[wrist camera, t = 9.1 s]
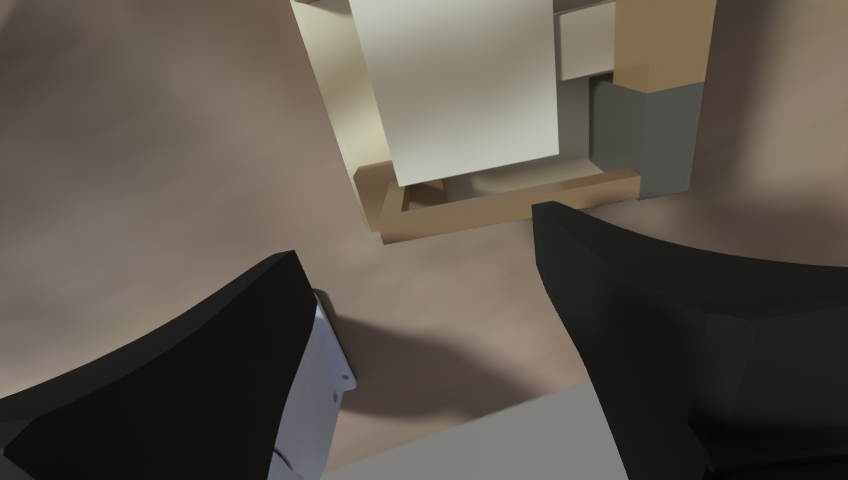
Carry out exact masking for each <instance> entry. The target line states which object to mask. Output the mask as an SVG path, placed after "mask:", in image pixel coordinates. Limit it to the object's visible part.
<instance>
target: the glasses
mask: <svg viewBox="0 0 848 480" xmlns="http://www.w3.org/2000/svg"><path fill="white" fill-rule="evenodd" d="M716 1H717V0H616V10H615V40H614V71H613V72H610V73H606V74H601V75H597V76H592V77H589V161H590V162H592V163H593V164H594V165H595V166H597V167H598V168H599V169H600V170H602V171H603V172H604V173H601V174H595V175H590V176H585V177H580V178H575V179H570V180H564V181H559V182H554V183H549V184H544V185H539V186H533V187H528V188H523V189H518V190H513V191H508V192H502V193H497V194H492V195H487V196H482V197H477V198H472V199H466V200H461V201H456V202H451V203H446V204H441V205H435V206H430V207H425V208H420V209H415V210H410V211H408V210H409V202H410V190H409V186H408V185H406V186H401V187H399V184H398V181H397V180H394V181H390V182H389V186H388V190H387V194H386V197H385V201H384V205H383V209H382V212H381V216H380V220H379V224H378V228H379V231H380V234H381V237H382V241H383V244H384V245H385V244H391V243H396V242H402V241H407V240H412V239H418V238H423V237H429V236H434V235H440V234H445V233H450V232H456V231H461V230H467V229H472V228H478V227H483V226H489V225H494V224H499V223H505V222H510V221H516V220H521V219H527V218H532V207H531V205H532V204H537V203H542V202H548V201H557V202H560V203H562V204H565V205H567V206H569V207H572V208H574V209H581V208H586V207H592V206H597V205H603V204H608V203H613V202H619V201H624V200H630V199H635V198H637V199H638V200H644V199H649V198H655V197H660V196H666V195H671V194H677V193H682V192H688V191H689V186H690V179H691V172H692V165H693V158H694V152H695V145H696V138H697V131H698V124H699V117H700V111H701V104H702V97H703V90H704V83H705V76H706V70H707V63H708V56H709V49H710V42H711V35H712V29H713V22H714V15H715V8H716Z"/></svg>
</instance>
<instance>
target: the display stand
mask: <svg viewBox="0 0 848 480" xmlns="http://www.w3.org/2000/svg"><path fill="white" fill-rule="evenodd" d="M290 2H291V5H292V8H293V11H294V14H295V17H296V20H297V23H298V26H299V28H300V31H301V34H302V37H303V40H304V43H305V46H306V49H307V52H308V55H309V58H310V61H311V64H312V67H313V70H314V73H315V76H316V79H317V82H318V85H319V88H320V91H321V94H322V97H323V100H324V103H325V106H326V109H327V112H328V115H329V118H330V121H331V124H332V127H333V130H334V133H335V136H336V139H337V141H338V144H339V147H340V150H341V153H342V156H343V159H344V162H345V165H346V168H347V171H348V174H349V177H350V180H351V183H352V186H353V189H354V192H355V195H356V198H357V201H358V204H359V207H360V210H361V213H362V216H363V219H364V222H365V225H366V228H367V231H368V234H369V237H370V238H371V237H376V236H381V234H380V231H379V228H378V224H379V220H380V216H381V212H382V209H383V205H384V201H385V197H386V194H387V190H388V186H389V182H390V181H394V180H397V181H398V184H399V187H401V186H406V185H408V186H409V190H410V202H409V210H408V211H410V210H415V209H420V208H425V207H430V206H435V205H441V204H446V203H451V202H456V201H461V200H466V199H472V198H477V197H482V196H487V195H492V194H497V193H502V192H508V191H513V190H518V189H523V188H528V187H533V186H539V185H544V184H549V183H554V182H559V181H564V180H570V179H575V178H580V177H585V176H590V175H595V174H601V173H604V172H603V171H602V170H600V169H599V168H598V167H597V166H595V165H594V164H593V163H592V162H590V161H589V77H592V76H597V75H601V74H606V73H610V72H613V71H614V40H615V10H616V0H290Z"/></svg>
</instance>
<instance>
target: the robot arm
mask: <svg viewBox="0 0 848 480" xmlns="http://www.w3.org/2000/svg"><path fill="white" fill-rule="evenodd" d="M531 207H532V219H533V231H534V244H535V256H536V265H537V268H538V271H539V274H540V276H541V279H542V282H543V285H544V287H545V290H546V292H547V294H548V296H549V298H550V300H551V302H552V304H553V306H554V307H555V309H556V311H557V313H558V315H559V317H560V319H561V321H562V322H563V324H564V326H565V328H566V330H567V332H568V334H569V335H570V337H571V339H572V341H573V343H574V345H575V347H576V348H577V350H578V352H579V354H580V356H581V358H582V361H583V363H584V365H585V367H586V369H587V372H588V374H589V377H590V379H591V382H592V384H593V387H594V389H595V392H596V394H597V396H598V399H599V401H600V404H601V406H602V409H603V412H604V414H605V417H606V420H607V422H608V425H609V427H610V430H611V433H612V435H613V438H614V440H615V443H616V446H617V449H618V451H619V454H620V457H621V459H622V462H623V465H624V468H625V470H626V473H627V476H628V479H629V480H848V267H835V266H819V265H807V264H797V263H788V262H779V261H770V260H762V259H754V258H747V257H740V256H734V255H728V254H723V253H717V252H712V251H706V250H701V249H696V248H691V247H686V246H682V245H678V244H674V243H670V242H666V241H662V240H659V239H655V238H651V237H648V236H644V235H641V234H638V233H635V232H632V231H629V230H626V229H624V228H621V227H618V226H615V225H612V224H610V223H607V222H605V221H602V220H600V219H597V218H595V217H592V216H590V215H588V214H585V213H583V212H581V211H579V210H576V209H574V208H572V207H569V206H567V205H565V204H562V203H560V202H557V201H548V202H542V203H537V204H532V205H531ZM346 375H347V376H346ZM356 384H357V382H356V380H355V378H354V375H353V373H352V371H351V369H350V367H349V364H348V362H347V360H346V358H345V356H344V354H343V351H342V349H341V347H340V345H339V343H338V340H337V338H336V336H335V334H334V332H333V330H332V327H331V325H330V323H329V321H328V319H327V316H326V314H325V312H324V310H323V308H322V306H321V303H320V301H319V299H318V297H317V295H316V293H315V292H313V290H312V288H311V285H310V283H309V281H308V279H307V277H306V274H305V272H304V270H303V268H302V265H301V263H300V261H299V259H298V257H297V254H296V252H295V250H291V251H286V252H280V253H276V254H274V255H272V256H270V257H268V258H266V259H264V260H263V261H261V262H259V263H258V264H256V265H255V266H253V267H252V268H250V269H249V270H247V271H246V272H244V273H243V274H241V275H240V276H239V277H237V278H236V279H234V280H233V281H231V282H230V283H228V284H227V285H226V286H224V287H223V288H221V289H220V290H218V291H217V292H215V293H214V294H212V295H211V296H209V297H208V298H206V299H204V300H203V301H201V302H200V303H198V304H197V305H195V306H194V307H192V308H191V309H189V310H188V311H186V312H184V313H183V314H181V315H180V316H178V317H176V318H175V319H173V320H171V321H169V322H168V323H166V324H164V325H162V326H161V327H159V328H157V329H155V330H154V331H152V332H150V333H148V334H146V335H144V336H143V337H141V338H139V339H137V340H135V341H133V342H131V343H129V344H127V345H125V346H123V347H121V348H119V349H117V350H114V351H112V352H110V353H108V354H106V355H104V356H102V357H100V358H98V359H96V360H94V361H92V362H90V363H87V364H85V365H83V366H81V367H78V368H76V369H74V370H72V371H69V372H67V373H65V374H62V375H60V376H57V377H55V378H53V379H50V380H48V381H45V382H43V383H41V384H38V385H36V386H33V387H31V388H28V389H25V390H23V391H20V392H18V393H15V394H12V395H10V396H7V397H4V398H1V399H0V480H319V479H320V478H321V476H322V474H323V472H324V469H325V467H326V463H327V460H328V456H329V451H330V447H331V443H332V439H333V435H334V430H335V426H336V422H337V418H338V414H339V409H340V405H341V401H342V397H343V393H344V391H349V390H354V389H355V388H356Z"/></svg>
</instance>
